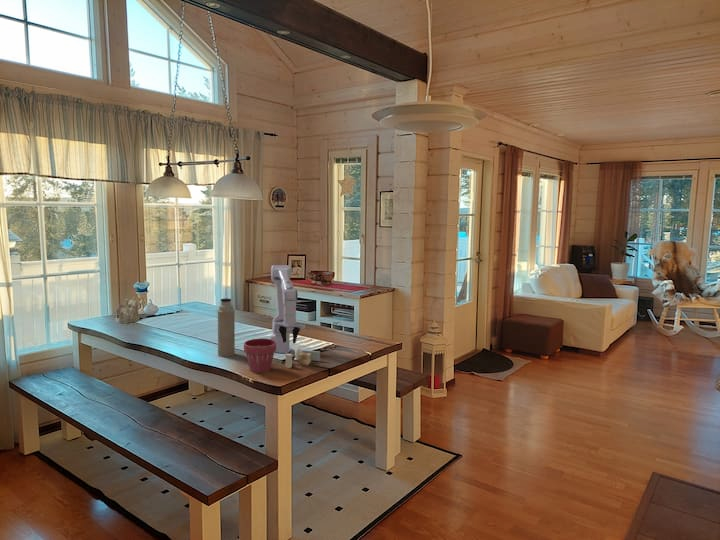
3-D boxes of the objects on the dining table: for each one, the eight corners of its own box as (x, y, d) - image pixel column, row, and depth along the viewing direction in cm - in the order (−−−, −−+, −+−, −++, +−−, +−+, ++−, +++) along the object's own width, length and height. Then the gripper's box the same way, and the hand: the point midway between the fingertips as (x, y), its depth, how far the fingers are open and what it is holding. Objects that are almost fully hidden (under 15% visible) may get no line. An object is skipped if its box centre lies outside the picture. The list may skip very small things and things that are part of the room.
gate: (301, 359, 240) (301, 350, 239) (302, 358, 241) (302, 349, 241) (319, 361, 238) (319, 352, 238) (319, 360, 239) (320, 351, 239)
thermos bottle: (234, 351, 250) (234, 297, 247) (235, 356, 242) (234, 300, 239) (217, 352, 248) (217, 297, 244) (218, 357, 240) (217, 300, 237)
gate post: (292, 359, 240) (293, 349, 239) (295, 357, 243) (295, 347, 242) (300, 360, 239) (300, 350, 238) (302, 358, 242) (302, 348, 242)
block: (297, 364, 233) (297, 355, 233) (300, 361, 238) (301, 352, 237) (307, 365, 232) (307, 356, 232) (310, 362, 237) (311, 353, 236)
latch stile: (283, 367, 228) (283, 354, 227) (288, 363, 235) (288, 350, 234) (290, 368, 227) (290, 355, 227) (295, 363, 234) (295, 351, 233)
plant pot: (238, 373, 218) (238, 345, 217) (251, 363, 232) (251, 337, 230) (269, 376, 215) (269, 347, 214) (280, 366, 229) (280, 339, 227)
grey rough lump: (125, 316, 322) (123, 293, 319) (145, 319, 317) (144, 296, 314) (105, 322, 307) (104, 299, 304) (126, 326, 302) (125, 302, 299)
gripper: (272, 315, 231) (271, 343, 233) (301, 317, 228) (301, 345, 230) (277, 312, 238) (277, 339, 240) (306, 314, 235) (306, 342, 237)
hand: (289, 342), depth 235 cm, fingers open, 4 cm apart
